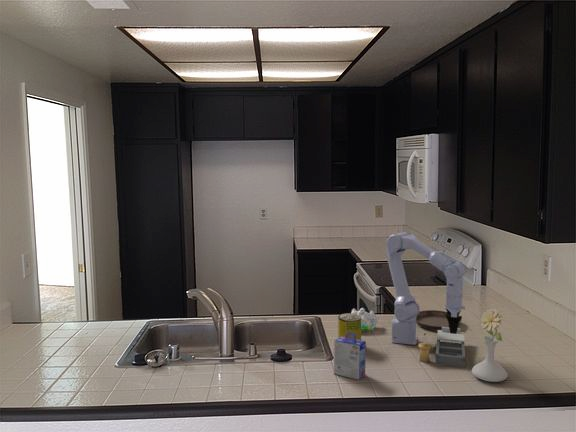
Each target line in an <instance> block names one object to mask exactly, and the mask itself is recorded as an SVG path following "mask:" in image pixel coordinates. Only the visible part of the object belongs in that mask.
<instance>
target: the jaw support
mask: <svg viewBox="0 0 576 432" xmlns="http://www.w3.org/2000/svg"><path fill="white" fill-rule="evenodd" d="M365 310H366V309H365V308H364V307H361V308H360V309H359V310H358V311H357V309H356V308H354V307H353V308H352V309H351V312H350V313H352V314H357V315H360V316H361V329H363V330H367V331H372V330H373V329H375V328H376V326H377V324H378V320H379V317H378V316H377V315H376V314H375V312H374V311H373V310H370V312H367V311H365ZM368 321H369V325H368V324H367V322H368Z"/></svg>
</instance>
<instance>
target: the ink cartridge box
mask: <svg viewBox="0 0 576 432" xmlns="http://www.w3.org/2000/svg"><path fill="white" fill-rule="evenodd" d="M348 335H353V336H354V338H353V337H348ZM356 335H357V334H356V333H351V332H347V335H346V337H339V338H338V337H337V338H336V339H335V340H334V344H333V345H334V349H333V350H334V351H333V352H334V353H333V354H334V355H333V357H334V360H333V375H339V376H342V377H346V378H350V379H355V380H361V379H362V378H363V377H365V376H366V354H367V353H366V351H367V348H366V345H367V344H366V340H363V339H361V340H357V339H356Z"/></svg>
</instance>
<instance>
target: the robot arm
mask: <svg viewBox="0 0 576 432" xmlns="http://www.w3.org/2000/svg"><path fill="white" fill-rule="evenodd" d="M385 244H386V253H385V256H386V260H387V264H388V267H389V272H390V275H391V279H392V284H393V287H394V290H395V295H396V299H395V301H394V303H393V305H394V316H395V318H392V323H391V324H392V326H391V327H392V328H391V343H392V344H393V343H395V344H404V345H410V346H411V345H414V346H416V345H417V341H418V336H416V335H417V323H416V318H417V315H418V314H419V312H420V311H421V309H420V306H419V304H418V303H417V301H416V298H415V297H414V296H413V295H412V294H411V292H410V287H409V284H408V280H407V277H406V272H405V269H404V264H403V260H402V255H403V253H404V252H405V251H406V250H413V251H414V252H417V253H419V254H420V255H421V256H424V257H425V258H426V259H428V261H429V264H431V265H432V266H433V267H434V268H436V269H438V270H439V271H441V272H442V273H443V275H444V276H445V278H446V291H445V292H446V293H445V295H446V297H445V311H446V312H447V313H448V314H446V318H447V320H448V323H449V330H450V333H451V334H456V333H457V329H458V328H459V325H460V324H459V322H460V321H461V320H462V319H463V316H462V315H460V313H461V311H463V310H466V306H465V305H463V291H464V290H463V289H464V276H465V275H466V273H467V266H466V265H465V264H464V263H462V261H459V260H458V261H455V259H454V258H452V257H451V258H450V257H449V256H447V255H446V254H445V252H444V251H443V250H442V251H440V250H435V251H434V250H433V249H431V248H430V247H429V246H427V245H426V244H425V243H424V242H422V241H420V240H419V239H418V238H417V237H416V236H415V235H414V234H412V233H410V232H408V231H403V232H399V233H393V234H390V235H389V237H388V238H387V239H386V240H385ZM461 322H462V321H461Z"/></svg>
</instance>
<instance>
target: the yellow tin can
mask: <svg viewBox="0 0 576 432" xmlns="http://www.w3.org/2000/svg"><path fill="white" fill-rule="evenodd" d="M361 316H362V315H361ZM361 316H360V315H357V314H352V313H351V312H349V313H348V312H347V313H345V312H344V313H341V314H339V315H338V319H337V320H338V322H337V324H338V325H337V329H338V330H337V332H338V334H337V339H338V338H339V337H346V335H347V332H351V333H356V334H357V335H356V339H357V340H362V328H361V321H362V320H361ZM348 337H353V338H354V336H353V335H348Z"/></svg>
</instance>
